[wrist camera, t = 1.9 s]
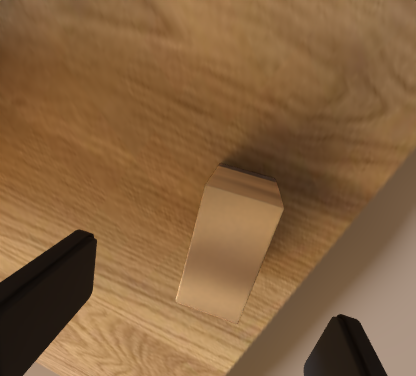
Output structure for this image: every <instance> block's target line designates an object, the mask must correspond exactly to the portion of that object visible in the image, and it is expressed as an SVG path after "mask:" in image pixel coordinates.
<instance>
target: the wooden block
mask: <svg viewBox="0 0 416 376" xmlns="http://www.w3.org/2000/svg"><path fill="white" fill-rule="evenodd" d="M283 210H284V206H283V203H282V199H281V196H280V192H279V189H278V185H277V183H276V179H275V178H271V177H268V176H264V175H261V174H257V173H254V172H250V171H247V170H243V169H240V168H236V167H233V166H229V165H226V164H222V163H220V164H219V165H218V167H217V168H216V170H215V171H214V173H213V174H212V176H211V177H210V179H209V180H208V182H207V183H206V185H205V187H204V191H203V195H202V199H201V203H200V207H199V211H198V215H197V219H196V223H195V227H194V230H193V234H192V238H191V242H190V246H189V250H188V254H187V258H186V262H185V266H184V270H183V274H182V278H181V282H180V285H179V289H178V293H177V297H176V303H179V304H182V305H185V306H187V307H190V308H193V309H196V310H199V311H201V312H204V313H207V314H210V315H213V316H215V317H218V318H221V319H224V320H227V321H229V322H232V323H235V324H238V322H239V320H240V317H241V315H242V312H243V310H244V307H245V305H246V302H247V300H248V297H249V295H250V292H251V290H252V287H253V285H254V282H255V280H256V277H257V275H258V272H259V270H260V268H261V265H262V263H263V260H264V258H265V255H266V253H267V250H268V248H269V245H270V243H271V240H272V238H273V235H274V233H275V230H276V228H277V225H278V223H279V220H280V218H281V215H282V213H283Z"/></svg>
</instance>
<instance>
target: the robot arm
mask: <svg viewBox="0 0 416 376" xmlns="http://www.w3.org/2000/svg"><path fill="white" fill-rule="evenodd" d="M96 246H97V240H96V239H95V238H94V235H93V234H92V233H89V232H86V231H83V230H76V231H74V232H73V233H72V234H70V235H69V236H67V237H66V238H64V239H63V240H61V241H60V242H59V243H57V244H56V245H54V246H53V247H51V248H50V249H48V250H47V251H45V252H44V253H43V254H41V255H40V256H38V257H37V258H35V259H34V260H32V261H31V262H29V263H28V264H27V265H25V266H24V267H22V268H21V269H19V270H18V271H16V272H15V273H13V274H12V275H11V276H9V277H8V278H6V279H5V280H3V281H2V282H0V376H23V375H24V374H25V372H26V371H27V370H28V369H29V368H30V367H31V365H32V364H33V363H34V362H35V361H36V360H37V358H38V357H39V356H40V355H41V354H42V353H43V351H44V350H45V349H46V348H47V347H48V346H49V344H50V343H51V342H52V341H53V340H54V339H55V337H56V336H57V335H58V334H59V333H60V332H61V330H62V329H63V328H64V327H65V326H66V325H67V324H68V322H69V321H70V320H71V319H72V318H73V317H74V315H75V314H76V313H77V312H78V311H79V310H80V308H81V307H82V306H83V305H84V304H85V303H86V301H87V300H88V299H89V297H90V296H91V294H92V290H93V280H94V269H95V258H96ZM304 376H387V374H386V372H385V370H384V368H383V366H382V364H381V362H380V360H379V358H378V356H377V355H376V352H375V351H374V349H373V347H372V345H371V343H370V341H369V339H368V337H367V335H366V333H365V331H364V329H363V327H362V325H361V323H360V322H359V321H358V320H357V319H354V318H351V317H348V316H345V315H342V314H340V315H337V317H332V319H331V320H330V322H329V323H328V325H327V327H326V329H325V330H324V332H323V334H322V336H321V337H320V339H319V340H318V342H317V344H316V346H315V347H314V349H313V351H312V352H311V354H310V356H309V357H308V359H307V361H306V363H305V365H304Z"/></svg>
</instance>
